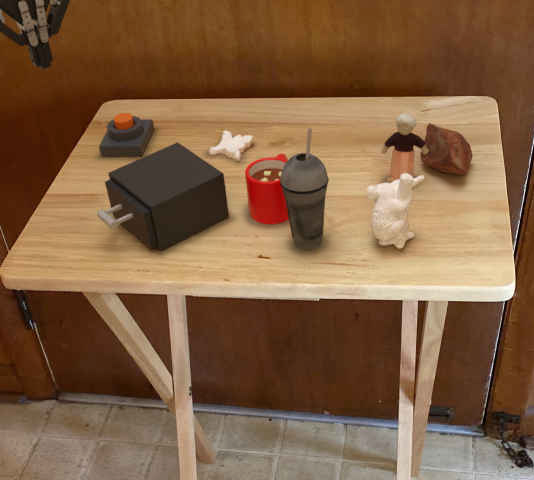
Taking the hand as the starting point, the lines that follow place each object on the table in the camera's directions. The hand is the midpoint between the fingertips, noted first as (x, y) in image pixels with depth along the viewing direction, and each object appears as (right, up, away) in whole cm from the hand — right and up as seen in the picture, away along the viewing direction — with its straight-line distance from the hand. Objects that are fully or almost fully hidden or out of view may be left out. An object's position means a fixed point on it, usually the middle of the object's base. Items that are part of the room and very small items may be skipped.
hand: (43, 66), depth 121 cm
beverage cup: (+40, -26, +8) cm, 48 cm away
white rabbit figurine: (+53, -25, +7) cm, 59 cm away
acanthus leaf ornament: (+27, -6, +31) cm, 41 cm away
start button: (+6, -1, +33) cm, 34 cm away
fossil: (+64, -11, +21) cm, 69 cm away
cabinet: (+17, -20, +16) cm, 31 cm away
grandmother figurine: (+57, -14, +19) cm, 61 cm away
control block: (+7, -4, +35) cm, 36 cm away
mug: (+35, -18, +17) cm, 43 cm away
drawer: (+14, -21, +14) cm, 29 cm away
